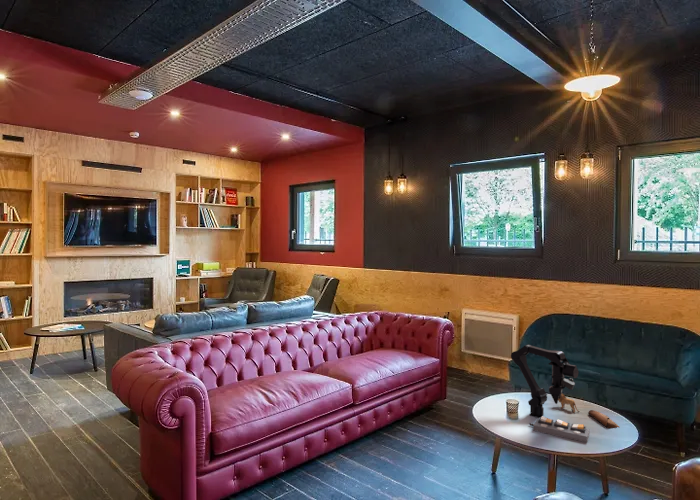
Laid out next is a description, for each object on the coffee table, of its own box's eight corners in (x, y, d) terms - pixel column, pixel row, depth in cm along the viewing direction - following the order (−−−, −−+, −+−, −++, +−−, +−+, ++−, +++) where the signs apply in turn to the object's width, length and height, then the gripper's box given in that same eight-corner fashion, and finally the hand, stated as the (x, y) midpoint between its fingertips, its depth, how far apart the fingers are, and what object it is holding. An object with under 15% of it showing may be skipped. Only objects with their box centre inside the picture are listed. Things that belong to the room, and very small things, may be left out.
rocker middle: (555, 423, 243) (556, 421, 243) (557, 421, 246) (557, 419, 246) (566, 428, 240) (566, 425, 240) (567, 425, 243) (567, 423, 243)
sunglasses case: (621, 427, 247) (615, 417, 246) (610, 434, 247) (604, 424, 246) (601, 414, 265) (596, 405, 264) (591, 420, 265) (586, 411, 264)
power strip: (527, 429, 246) (527, 421, 246) (531, 422, 254) (531, 415, 254) (587, 442, 230) (587, 434, 230) (589, 435, 238) (589, 427, 238)
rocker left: (540, 420, 247) (540, 418, 247) (541, 418, 250) (542, 416, 250) (550, 424, 244) (550, 422, 244) (551, 422, 248) (551, 419, 247)
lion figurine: (553, 406, 278) (553, 392, 277) (557, 404, 281) (557, 390, 281) (577, 413, 266) (577, 398, 266) (581, 411, 270) (581, 396, 269)
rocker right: (572, 429, 238) (572, 426, 238) (573, 426, 241) (573, 424, 242) (583, 429, 235) (582, 427, 236) (584, 427, 239) (583, 424, 239)
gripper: (571, 380, 242) (570, 409, 242) (575, 371, 257) (575, 398, 258) (548, 377, 248) (548, 405, 249) (554, 368, 264) (554, 395, 264)
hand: (557, 401), depth 255 cm, fingers open, 9 cm apart
